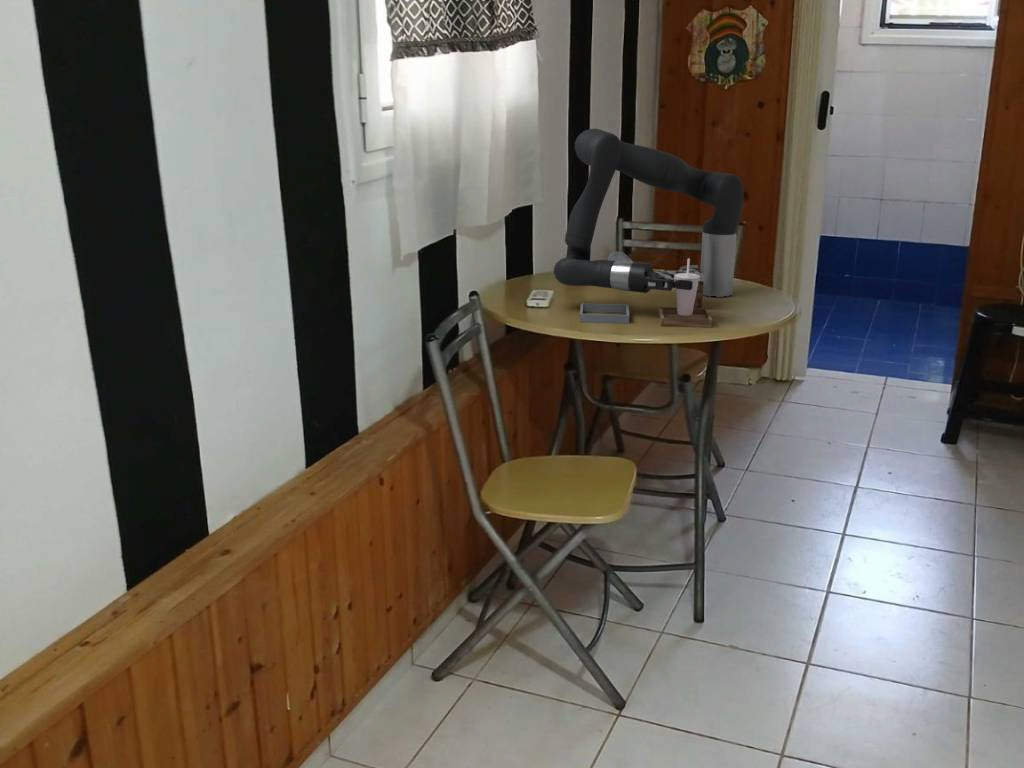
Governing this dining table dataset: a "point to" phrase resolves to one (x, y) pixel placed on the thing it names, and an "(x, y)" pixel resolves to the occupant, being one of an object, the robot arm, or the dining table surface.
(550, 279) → the dining table surface
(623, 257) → the canned food
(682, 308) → the smoothie
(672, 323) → the walnut tray
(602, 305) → the grey square frame
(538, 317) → the dining table surface
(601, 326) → the dining table surface
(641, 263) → the robot arm
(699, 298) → the food container
